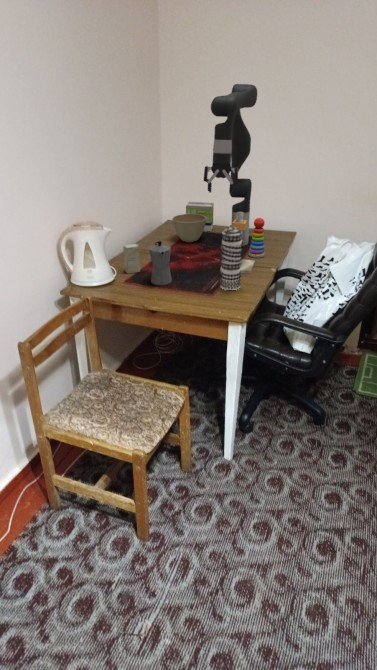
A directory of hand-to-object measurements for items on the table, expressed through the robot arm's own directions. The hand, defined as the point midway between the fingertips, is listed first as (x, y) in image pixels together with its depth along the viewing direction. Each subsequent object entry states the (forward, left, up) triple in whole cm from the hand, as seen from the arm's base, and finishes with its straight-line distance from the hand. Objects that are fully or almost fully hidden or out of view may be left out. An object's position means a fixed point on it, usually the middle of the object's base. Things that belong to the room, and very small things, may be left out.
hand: (220, 192), depth 193 cm
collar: (+5, +8, -16) cm, 19 cm away
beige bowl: (-40, +26, -35) cm, 59 cm away
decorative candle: (+16, -13, -35) cm, 41 cm away
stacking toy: (+3, +27, -35) cm, 44 cm away
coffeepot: (-12, -26, -35) cm, 45 cm away
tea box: (-49, +46, -35) cm, 76 cm away
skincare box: (-30, -26, -35) cm, 53 cm away
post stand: (+5, +8, -35) cm, 36 cm away
